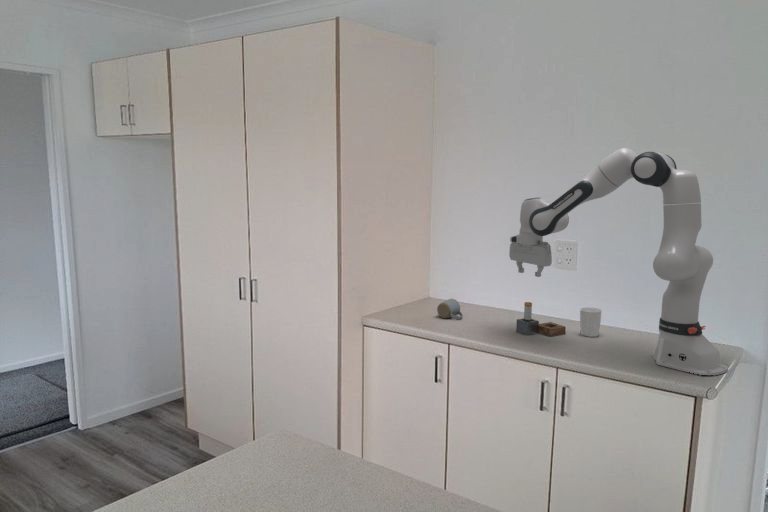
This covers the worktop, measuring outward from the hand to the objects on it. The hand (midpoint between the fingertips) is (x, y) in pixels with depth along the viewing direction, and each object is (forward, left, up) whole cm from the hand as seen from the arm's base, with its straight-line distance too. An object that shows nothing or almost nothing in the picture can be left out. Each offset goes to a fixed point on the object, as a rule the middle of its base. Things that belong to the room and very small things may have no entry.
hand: (529, 274), depth 230 cm
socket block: (0, 0, -23) cm, 23 cm away
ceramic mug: (+34, +12, -24) cm, 43 cm away
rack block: (-5, -7, -23) cm, 25 cm away
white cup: (-14, -19, -24) cm, 34 cm away
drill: (0, 0, -23) cm, 23 cm away
